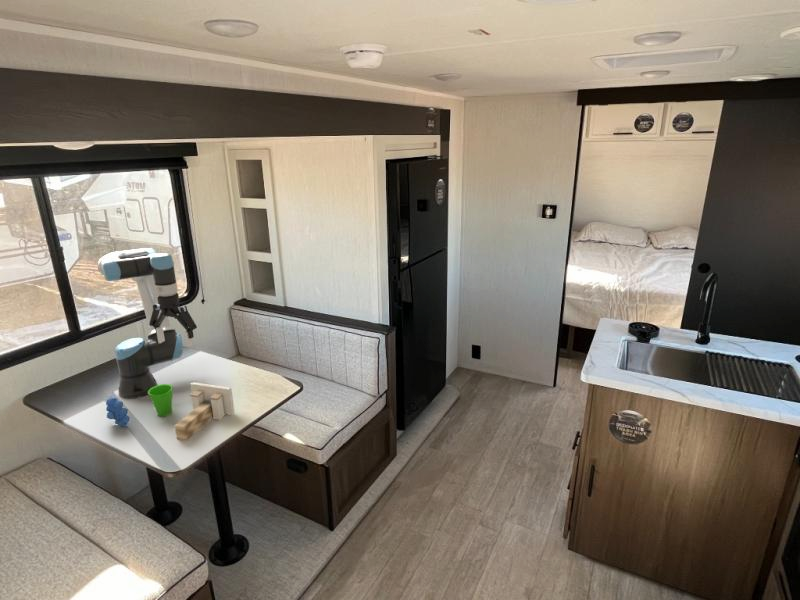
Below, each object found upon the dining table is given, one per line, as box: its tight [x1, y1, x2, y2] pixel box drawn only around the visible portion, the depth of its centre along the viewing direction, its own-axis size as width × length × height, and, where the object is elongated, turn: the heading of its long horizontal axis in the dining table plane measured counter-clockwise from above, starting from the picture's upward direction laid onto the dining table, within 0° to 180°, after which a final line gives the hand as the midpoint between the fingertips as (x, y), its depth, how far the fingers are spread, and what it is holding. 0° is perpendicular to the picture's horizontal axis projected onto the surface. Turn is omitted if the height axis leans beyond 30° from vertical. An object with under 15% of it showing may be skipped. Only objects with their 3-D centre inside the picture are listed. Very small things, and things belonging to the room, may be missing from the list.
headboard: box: [189, 381, 235, 420], centre depth 187 cm, size 18×6×12 cm, turn 76°
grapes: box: [105, 396, 131, 427], centre depth 179 cm, size 12×7×12 cm, turn 63°
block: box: [174, 400, 214, 441], centre depth 179 cm, size 18×4×6 cm, turn 166°
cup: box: [147, 383, 174, 417], centre depth 187 cm, size 9×9×11 cm
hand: (176, 343), depth 185 cm, fingers open, 13 cm apart
